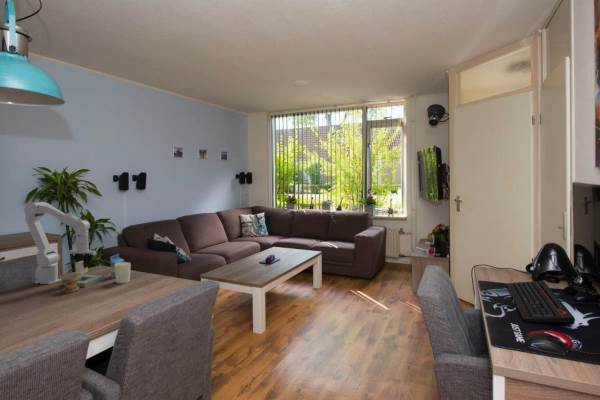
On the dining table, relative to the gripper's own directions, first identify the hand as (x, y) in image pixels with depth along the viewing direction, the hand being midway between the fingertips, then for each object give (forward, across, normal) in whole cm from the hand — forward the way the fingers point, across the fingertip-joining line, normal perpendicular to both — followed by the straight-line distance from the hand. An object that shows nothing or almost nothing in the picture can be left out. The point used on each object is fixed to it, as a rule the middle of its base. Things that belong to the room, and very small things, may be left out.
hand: (83, 267), depth 188 cm
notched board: (+8, 0, 0) cm, 8 cm away
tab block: (+3, 0, -1) cm, 3 cm away
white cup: (+9, +20, +5) cm, 22 cm away
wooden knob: (+8, +4, -13) cm, 16 cm away
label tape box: (+9, +10, +15) cm, 20 cm away
